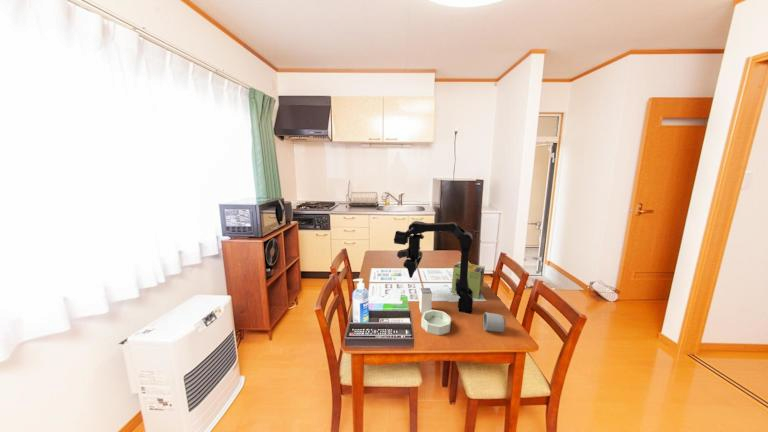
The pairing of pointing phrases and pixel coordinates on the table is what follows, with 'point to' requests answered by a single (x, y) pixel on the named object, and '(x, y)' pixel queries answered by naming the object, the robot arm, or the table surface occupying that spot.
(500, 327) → the ceramic mug
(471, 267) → the protein box
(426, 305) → the pebble canister
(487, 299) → the table surface
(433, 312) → the sage bowl
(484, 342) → the table surface
